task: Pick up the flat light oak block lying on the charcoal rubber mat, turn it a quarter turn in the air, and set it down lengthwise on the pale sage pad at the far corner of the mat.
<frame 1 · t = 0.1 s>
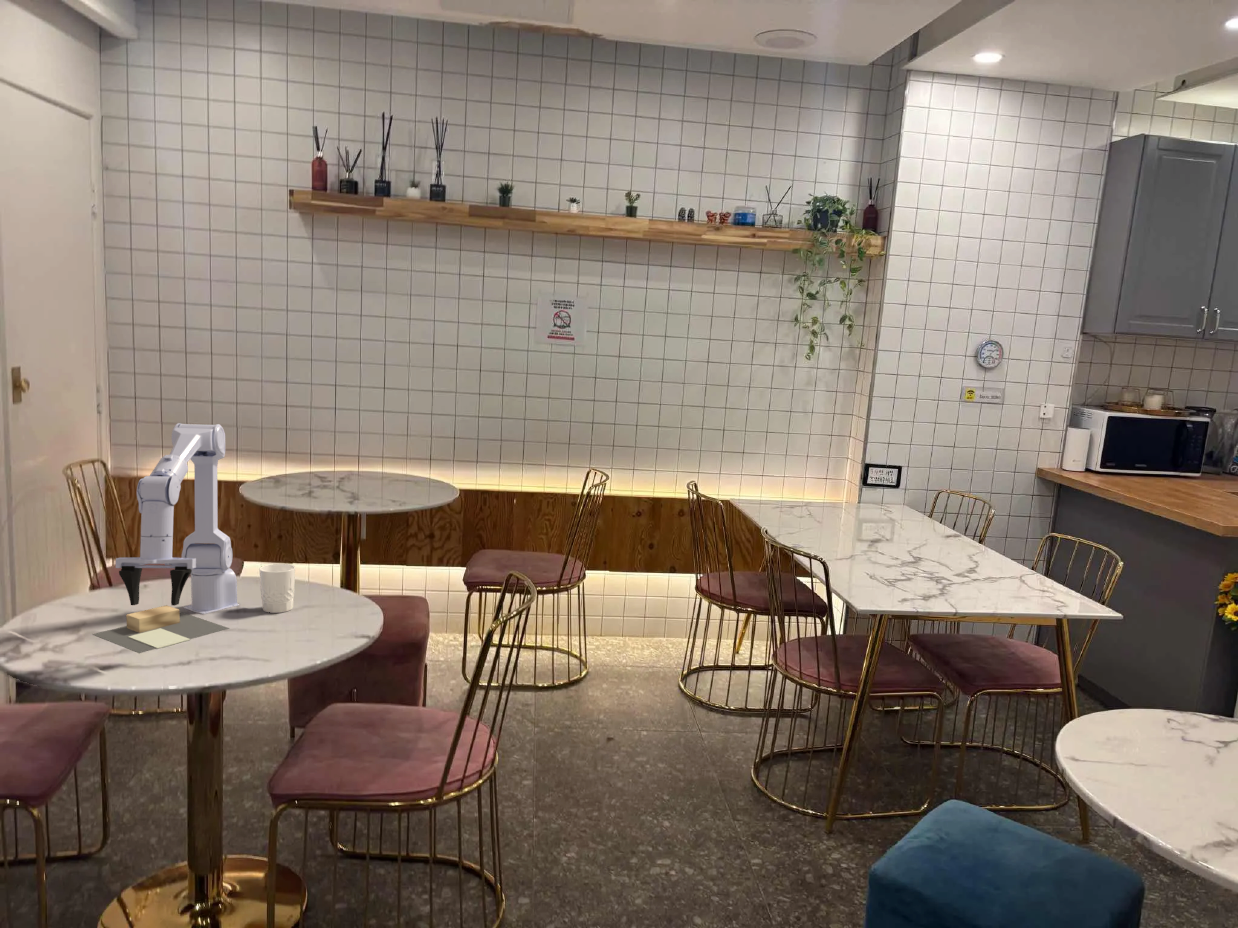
hand: (154, 604, 180), 11 cm above the table, tool pointing down, fingers open, 7 cm apart
white cup: (278, 609, 214), on the table
oak block: (153, 625, 198), resting on rubber mat
rubber mat: (162, 632, 195), on the table
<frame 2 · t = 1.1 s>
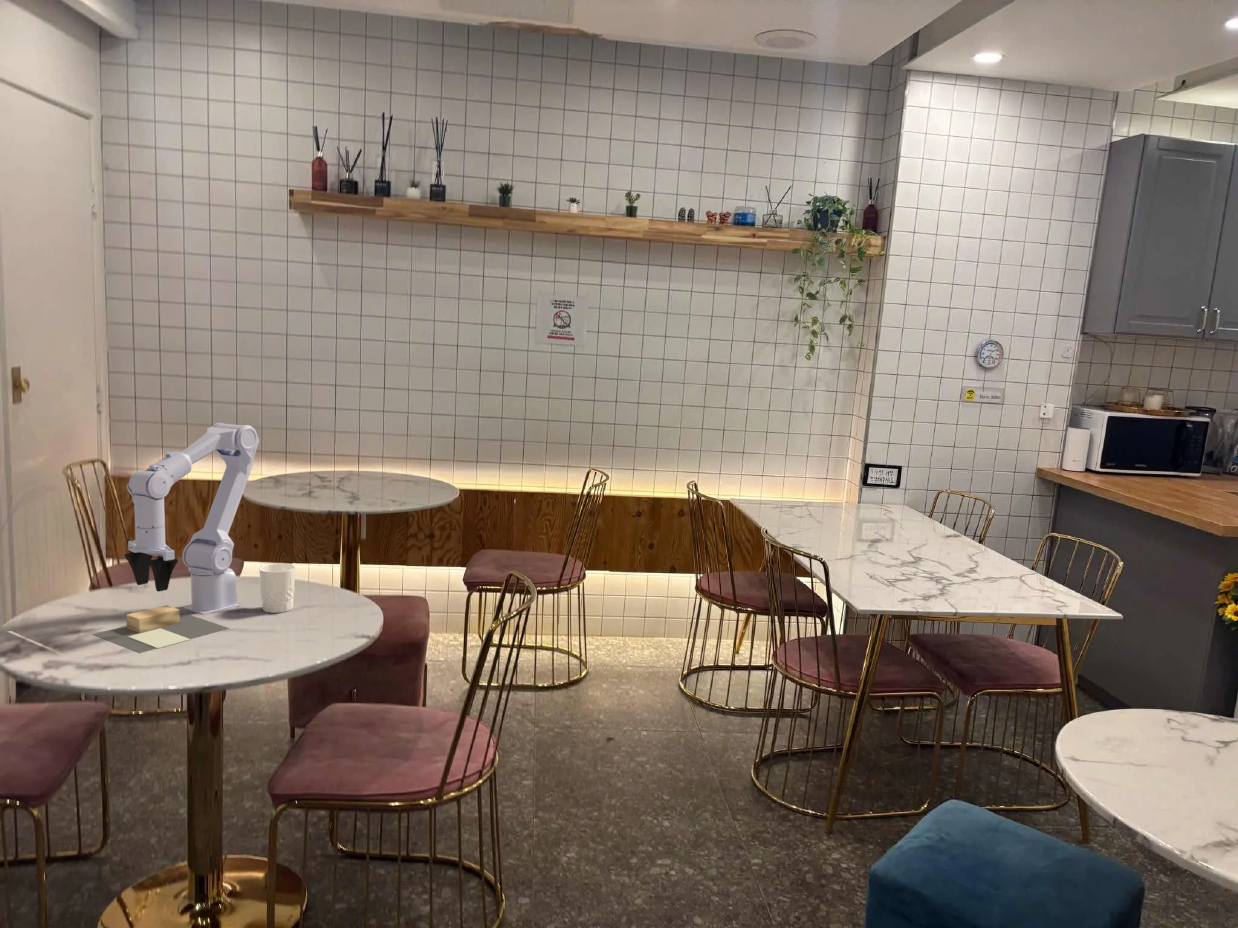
hand: (152, 587, 197), 9 cm above the table, tool pointing down, fingers open, 7 cm apart
nothing on the table moved.
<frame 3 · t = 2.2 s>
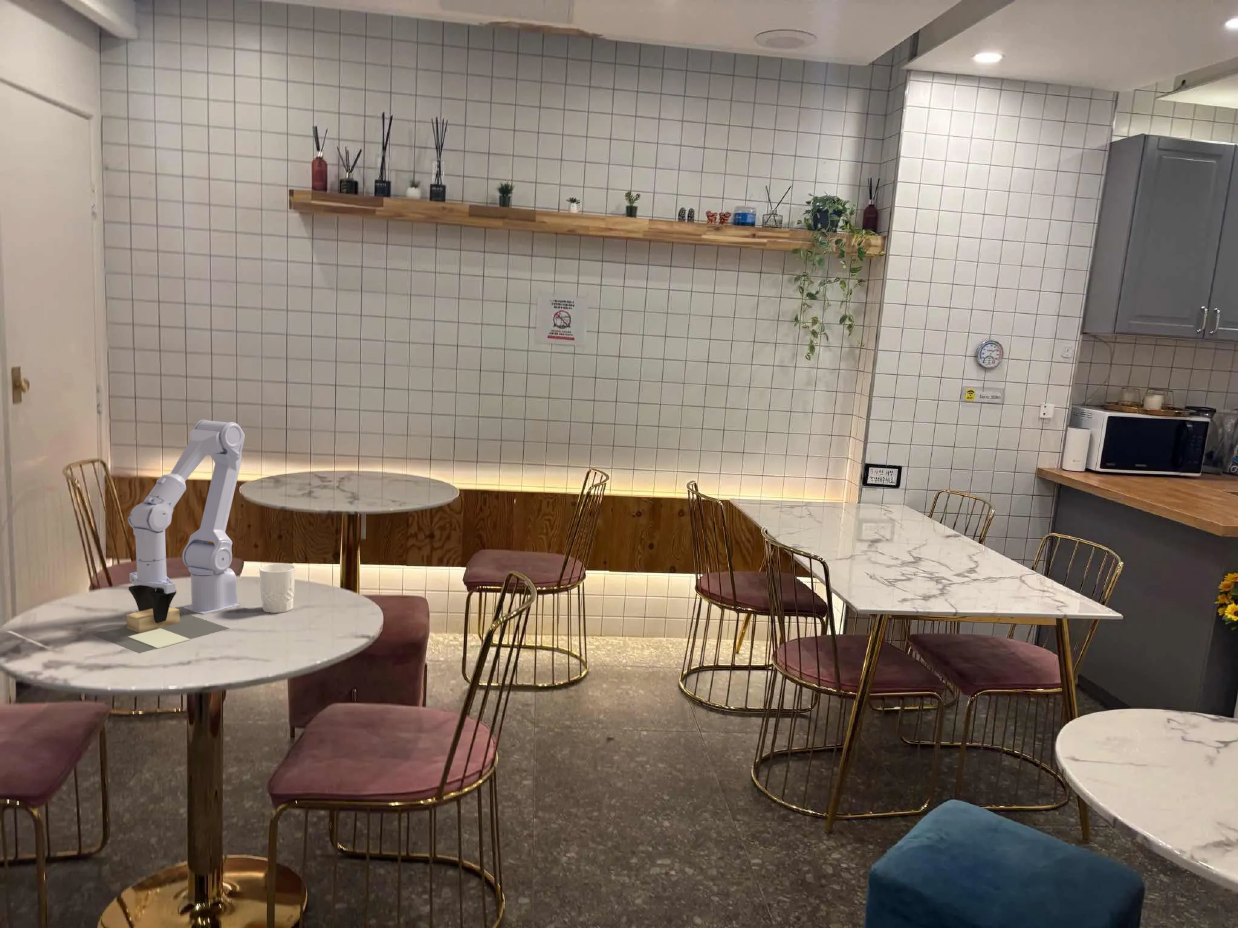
hand: (153, 619, 198), 2 cm above the table, tool pointing down, fingers closed on oak block, 5 cm apart
oak block: (153, 625, 198), resting on rubber mat, touching gripper
everything else where it was.
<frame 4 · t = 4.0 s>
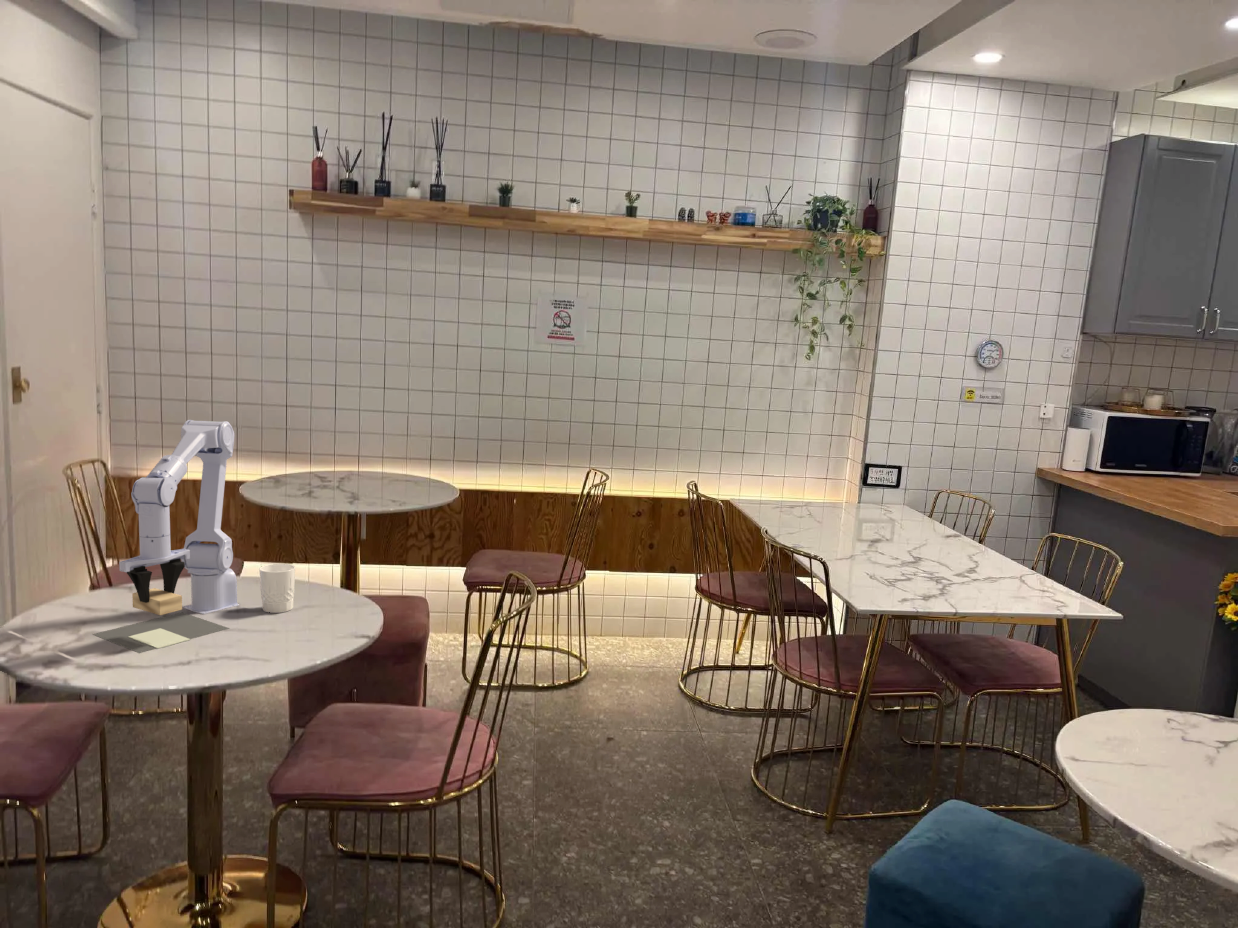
hand: (156, 598, 190), 9 cm above the table, tool pointing down, fingers closed on oak block, 5 cm apart
oak block: (157, 608, 190), point 7 cm above the table, touching gripper
everything else where it was.
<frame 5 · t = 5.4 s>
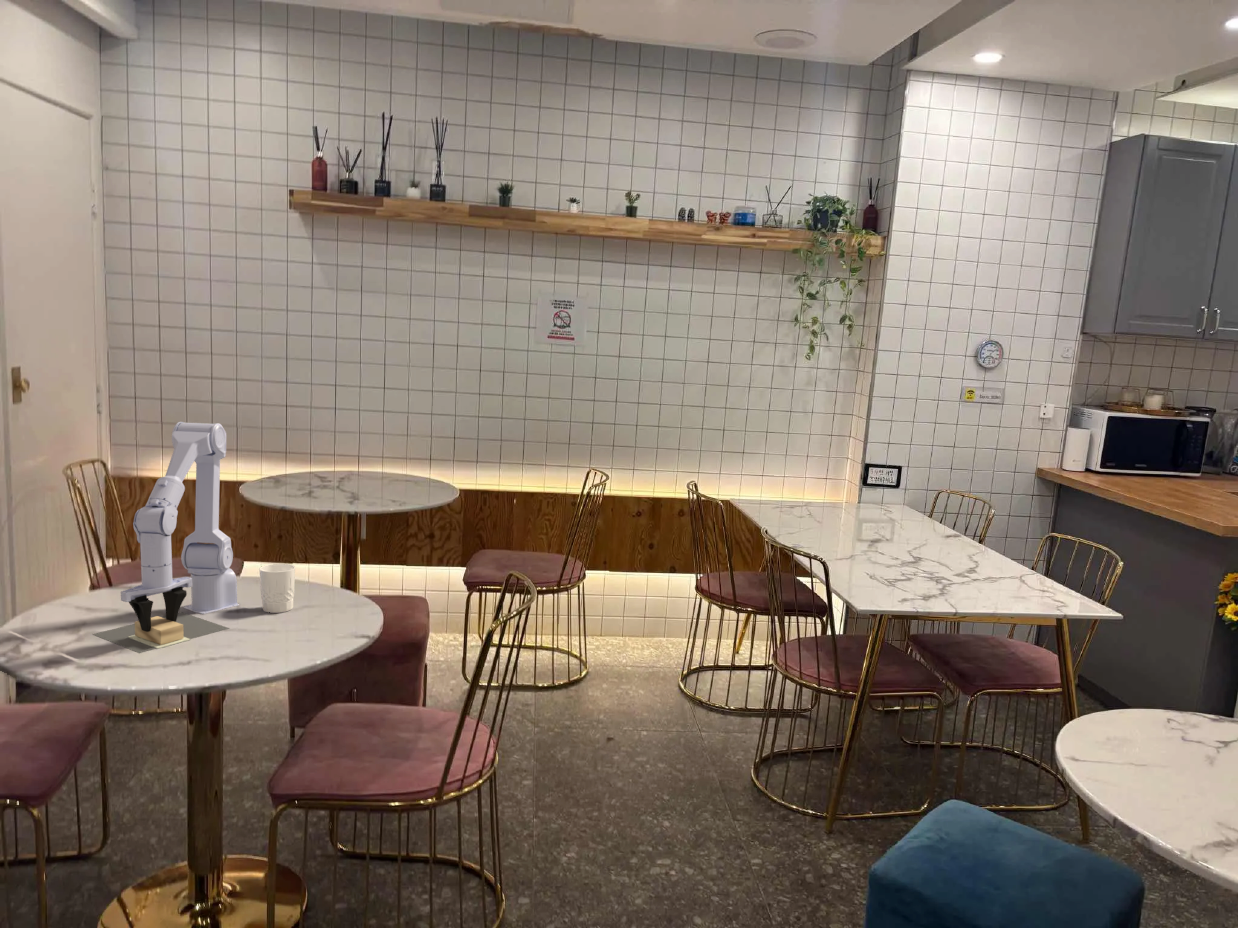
hand: (158, 627, 190), 3 cm above the table, tool pointing down, fingers closed on oak block, 5 cm apart
oak block: (159, 636, 190), point 1 cm above the table, touching gripper
everything else where it was.
when the fingers open (3 cm above the table, at t = 6.1 s): oak block stays where it is, resting on rubber mat.
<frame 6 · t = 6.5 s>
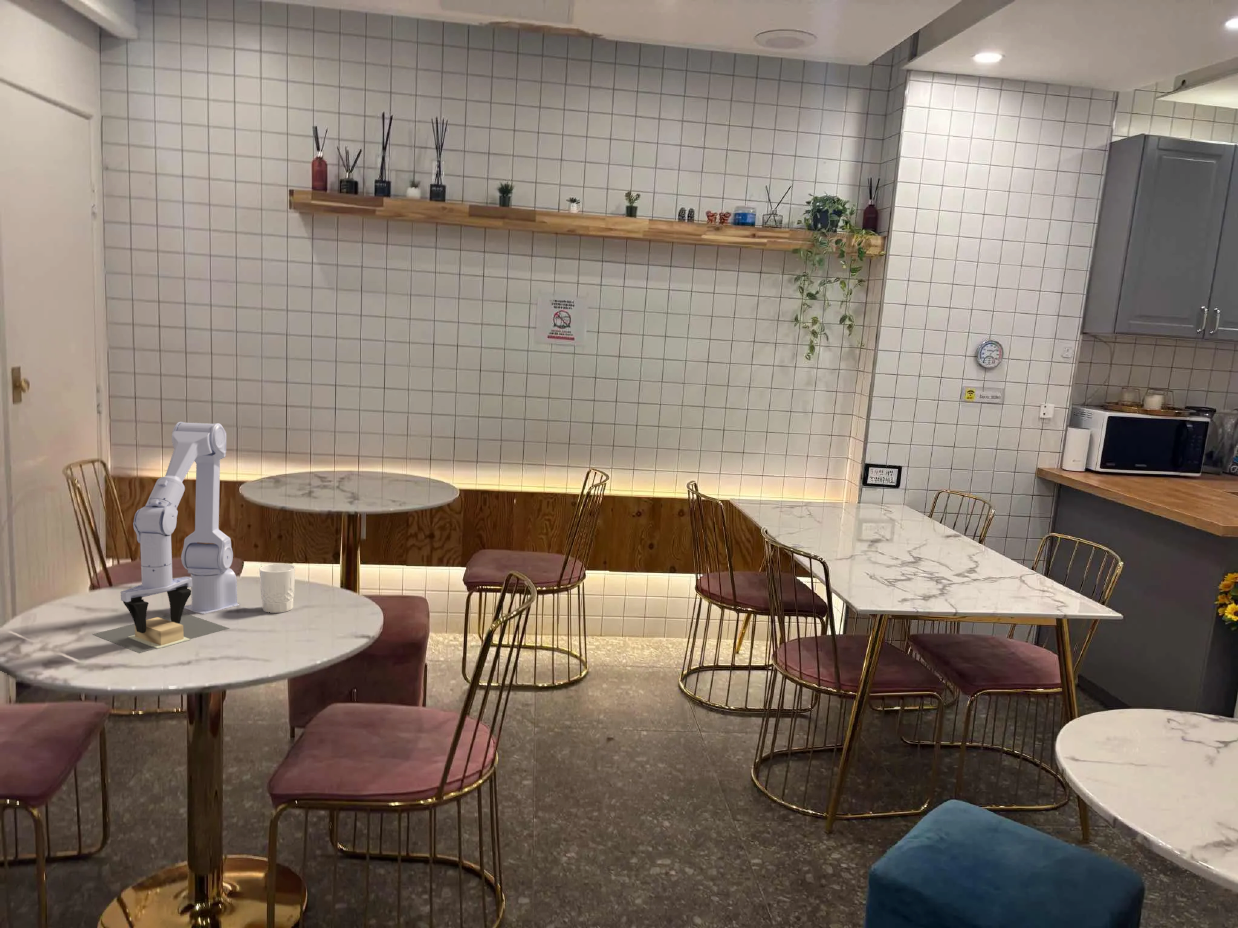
hand: (158, 627, 190), 3 cm above the table, tool pointing down, fingers open, 7 cm apart
oak block: (159, 637, 190), point 1 cm above the table, touching rubber mat
everything else where it was.
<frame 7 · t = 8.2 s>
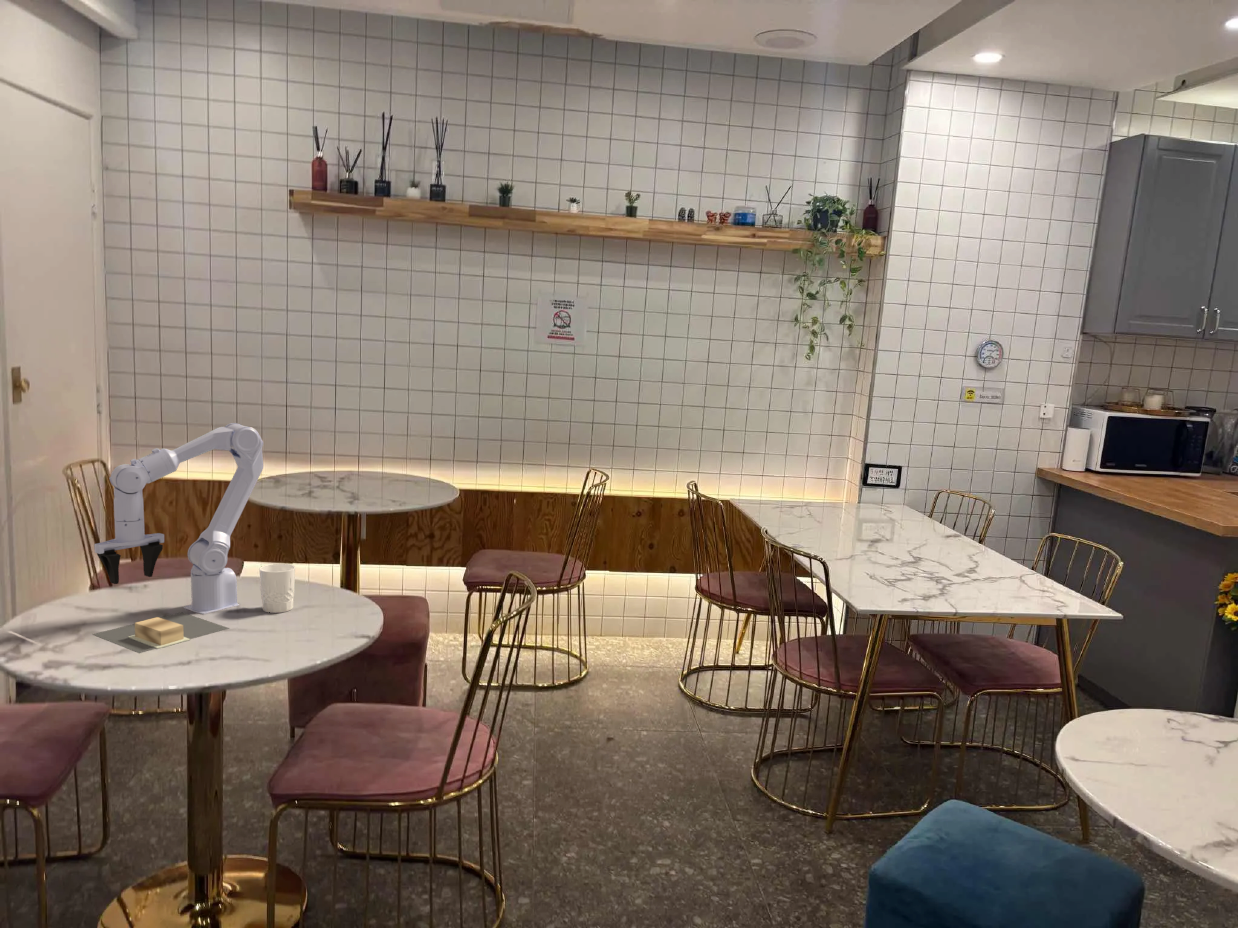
hand: (131, 579, 201), 9 cm above the table, tool pointing down, fingers open, 7 cm apart
nothing on the table moved.
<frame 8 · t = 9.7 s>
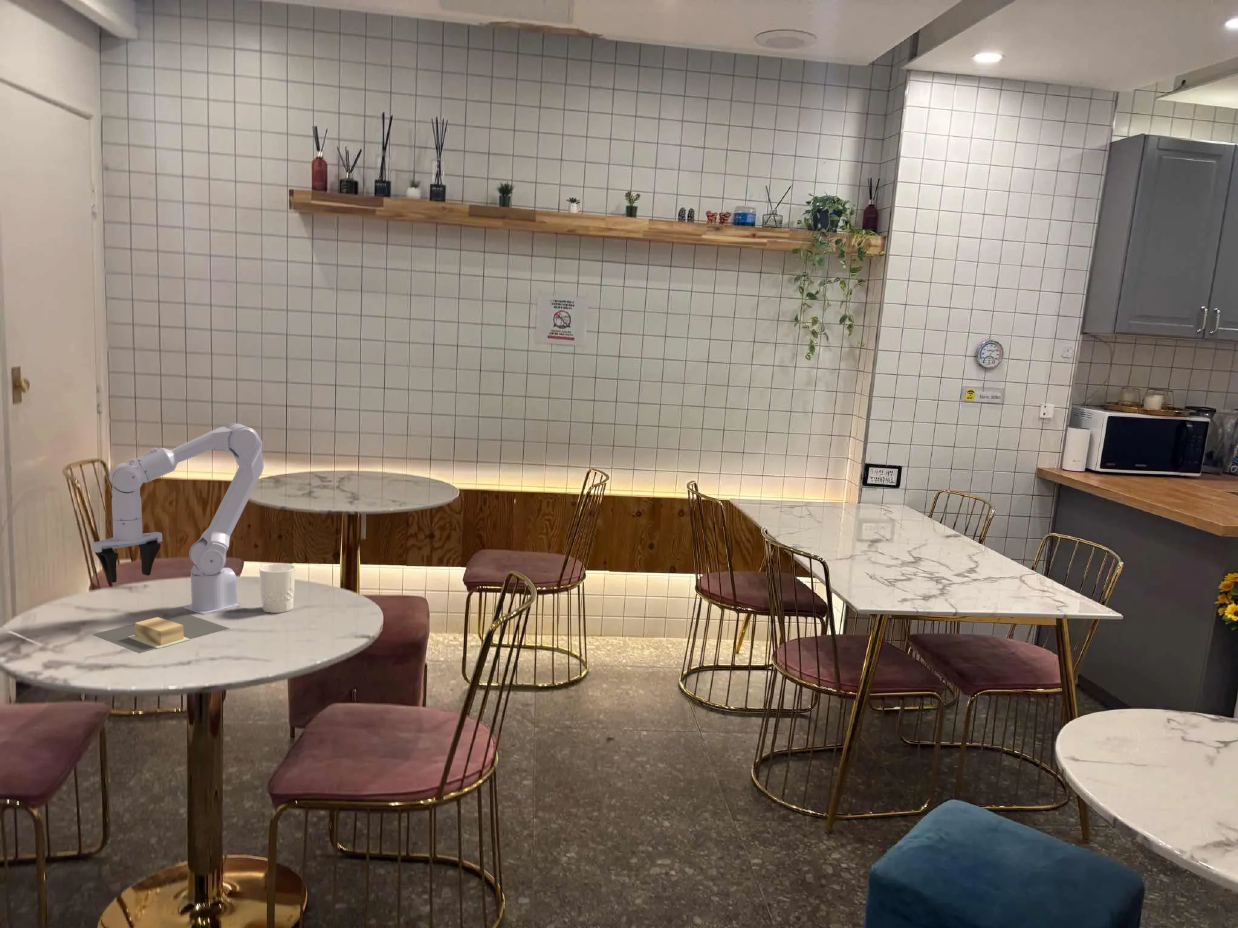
hand: (129, 578, 202), 9 cm above the table, tool pointing down, fingers open, 7 cm apart
nothing on the table moved.
at the end: oak block 0.1 cm from the target spot on the rubber mat, point 0.6 cm above the rubber mat's base; oak block tilted 0°; the gripper is holding nothing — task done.
